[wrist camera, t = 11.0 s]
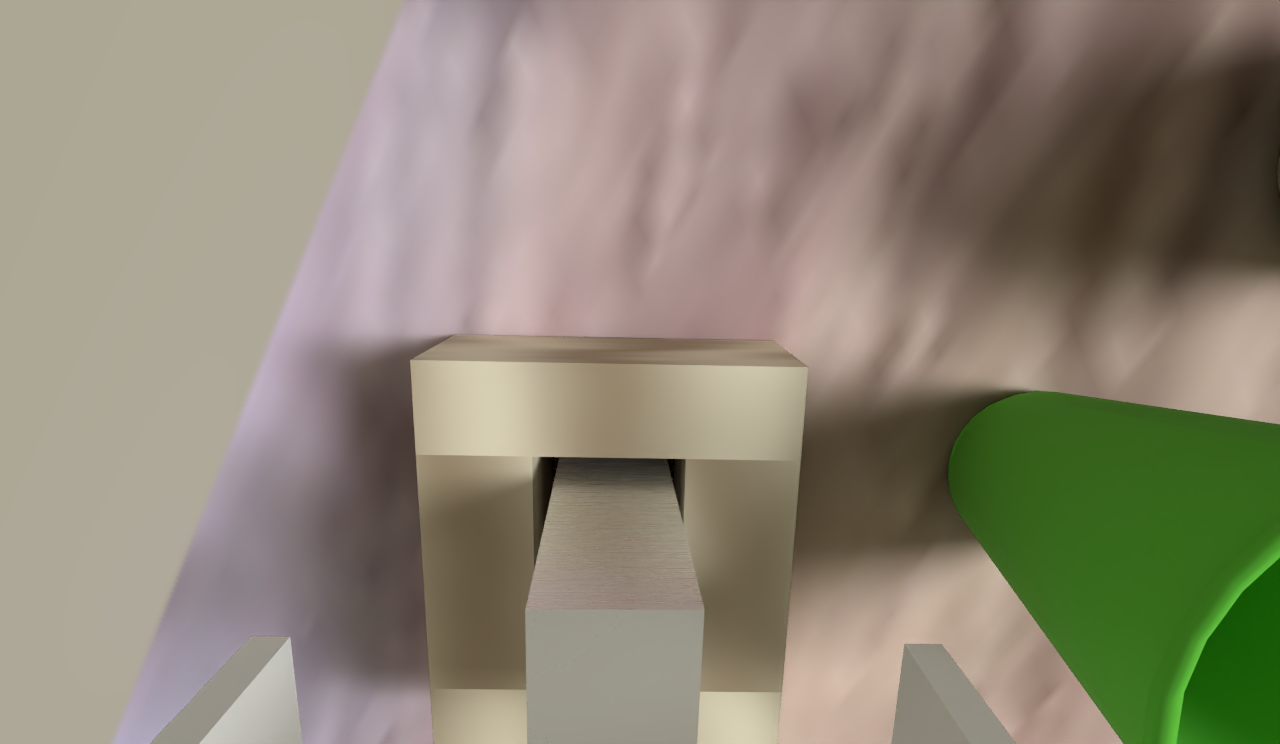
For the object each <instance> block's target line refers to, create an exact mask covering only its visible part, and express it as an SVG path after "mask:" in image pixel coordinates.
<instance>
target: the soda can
mask: <svg viewBox="0 0 1280 744" xmlns="http://www.w3.org/2000/svg"><path fill="white" fill-rule="evenodd" d="M1277 180H1278V189H1279V194H1280V153H1279V159H1278V167H1277Z"/></svg>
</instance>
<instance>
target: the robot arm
mask: <svg viewBox="0 0 1280 744" xmlns="http://www.w3.org/2000/svg"><path fill="white" fill-rule="evenodd" d="M150 744H302V736H301V727H300V718H299V710H298V701H297V692H296V684H295V675H294V666H293V657H292V649H291V640H290V637H271V636H251V637H250V638H249V639H248V641H247V642H246V643H245V644H244V645H243V646H242V647H241V648H240V649H239V650H238V651H237V652H236V653H235V654H234V655H233V656H232V657H231V659H230V660H229V661H228V662H227V663H226V664H225V665H224V666H223V667H222V668H221V669H220V670H219V671H218V672H217V673H216V674H215V675H214V676H213V678H212V679H211V680H210V681H209V682H208V683H207V684H206V685H205V686H204V687H203V688H202V689H201V690H200V691H199V692H198V693H197V694H196V696H195V697H194V698H193V699H192V700H191V701H190V702H189V703H188V704H187V705H186V706H185V707H184V708H183V709H182V710H181V711H180V712H179V713H178V715H177V716H176V717H175V718H174V719H173V720H172V721H171V722H170V723H169V724H168V725H167V726H166V727H165V728H164V729H163V730H162V731H161V733H160V734H159V735H158V736H157V737H156V738H155V739H154V740H153V741H152V742H151V743H150ZM892 744H1016V742H1015V741H1014V740H1013V738H1012V737H1011V736H1010V734H1009V733H1008V732H1007V730H1006V729H1005V728H1004V726H1003V725H1002V724H1001V722H1000V721H999V720H998V718H997V717H996V716H995V714H994V713H993V712H992V710H991V709H990V708H989V706H988V705H987V704H986V702H985V701H984V700H983V698H982V697H981V696H980V694H979V693H978V692H977V690H976V689H975V688H974V686H973V685H972V684H971V682H970V681H969V680H968V678H967V677H966V676H965V674H964V673H963V672H962V670H961V669H960V668H959V666H958V665H957V664H956V662H955V661H954V660H953V658H952V657H951V656H950V654H949V653H948V652H947V650H946V649H945V648H944V646H943V645H942V644H904V652H903V659H902V667H901V675H900V683H899V691H898V698H897V706H896V714H895V722H894V729H893V737H892Z"/></svg>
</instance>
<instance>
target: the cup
mask: <svg viewBox="0 0 1280 744" xmlns="http://www.w3.org/2000/svg"><path fill="white" fill-rule="evenodd" d="M948 479H949V487H950V492H951V497H952V501H953V503H954V505H955V507H956V509H957V511H958V513H959V515H960V516H961V518H962V519H963V521H964V522H965V523H966V525H967V526H968V528H969V529H970V530H971V532H972V533H973V535H974V536H975V537H976V539H977V540H978V542H979V543H980V544H981V546H982V547H983V549H984V550H985V551H986V553H987V554H988V555H989V557H990V558H991V560H992V561H993V562H994V564H995V565H996V567H997V568H998V569H999V571H1000V572H1001V574H1002V575H1003V576H1004V578H1005V579H1006V581H1007V582H1008V583H1009V585H1010V586H1011V587H1012V589H1013V590H1014V592H1015V593H1016V594H1017V596H1018V597H1019V599H1020V600H1021V601H1022V603H1023V604H1024V606H1025V607H1026V608H1027V610H1028V611H1029V613H1030V614H1031V615H1032V617H1033V618H1034V620H1035V621H1036V622H1037V624H1038V625H1039V626H1040V628H1041V629H1042V631H1043V632H1044V633H1045V635H1046V636H1047V638H1048V639H1049V640H1050V642H1051V643H1052V645H1053V646H1054V647H1055V649H1056V650H1057V652H1058V653H1059V654H1060V656H1061V657H1062V659H1063V660H1064V661H1065V663H1066V664H1067V665H1068V667H1069V668H1070V670H1071V671H1072V672H1073V674H1074V675H1075V677H1076V678H1077V679H1078V681H1079V682H1080V684H1081V685H1082V686H1083V688H1084V689H1085V691H1086V692H1087V693H1088V695H1089V696H1090V698H1091V699H1092V700H1093V702H1094V703H1095V704H1096V706H1097V707H1098V709H1099V710H1100V711H1101V713H1102V714H1103V716H1104V717H1105V718H1106V720H1107V721H1108V723H1109V724H1110V725H1111V727H1112V728H1113V730H1114V731H1115V732H1116V734H1117V735H1118V736H1119V738H1120V739H1121V741H1122V742H1123V743H1124V744H1280V425H1279V424H1273V423H1266V422H1259V421H1252V420H1245V419H1238V418H1231V417H1224V416H1217V415H1211V414H1204V413H1197V412H1190V411H1183V410H1176V409H1169V408H1162V407H1155V406H1149V405H1142V404H1135V403H1128V402H1121V401H1114V400H1107V399H1100V398H1093V397H1087V396H1080V395H1073V394H1066V393H1059V392H1046V391H1033V392H1028V393H1022V394H1016V395H1014V396H1011V397H1007V398H1005V399H1002V400H1000V401H998V402H995V403H993V404H991V405H989V406H988V407H986V408H985V409H983V410H982V411H981V412H979V413H978V414H976V415H975V416H974V417H973V418H972V419H971V420H970V422H969V423H968V424H967V425H966V426H965V427H964V428H963V430H962V431H961V433H960V435H959V436H958V438H957V440H956V441H955V443H954V446H953V449H952V452H951V455H950V459H949V469H948Z"/></svg>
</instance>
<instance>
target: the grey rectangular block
mask: <svg viewBox="0 0 1280 744" xmlns="http://www.w3.org/2000/svg"><path fill="white" fill-rule="evenodd" d="M704 610H705V609H704V605H703V601H702V597H701V593H700V589H699V585H698V581H697V577H696V573H695V569H694V565H693V561H692V557H691V554H690V550H689V546H688V542H687V538H686V534H685V530H684V526H683V522H682V518H681V514H680V510H679V506H678V502H677V498H676V494H675V490H674V486H673V482H672V478H671V474H670V470H669V466H668V462H667V459H652V458H590V457H559V462H558V466H557V470H556V475H555V479H554V484H553V488H552V493H551V497H550V502H549V506H548V511H547V515H546V520H545V524H544V529H543V533H542V537H541V542H540V546H539V551H538V555H537V560H536V564H535V569H534V573H533V578H532V582H531V587H530V591H529V595H528V600H527V604H526V609H525V631H526V696H527V744H697V738H698V720H699V702H700V683H701V665H702V647H703V629H704Z"/></svg>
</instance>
